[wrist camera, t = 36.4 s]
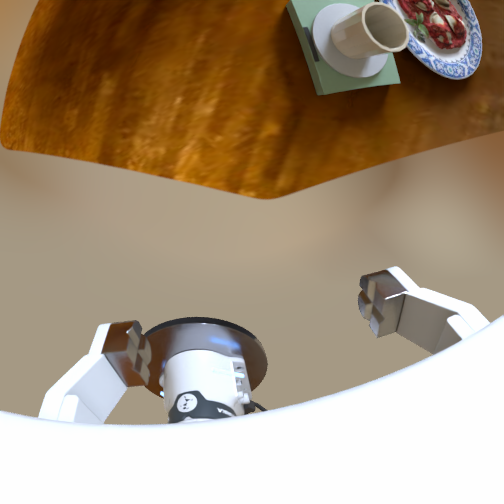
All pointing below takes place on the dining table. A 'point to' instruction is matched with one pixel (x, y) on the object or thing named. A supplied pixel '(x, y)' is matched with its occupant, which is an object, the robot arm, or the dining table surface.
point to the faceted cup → (370, 32)
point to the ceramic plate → (442, 35)
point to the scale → (328, 56)
